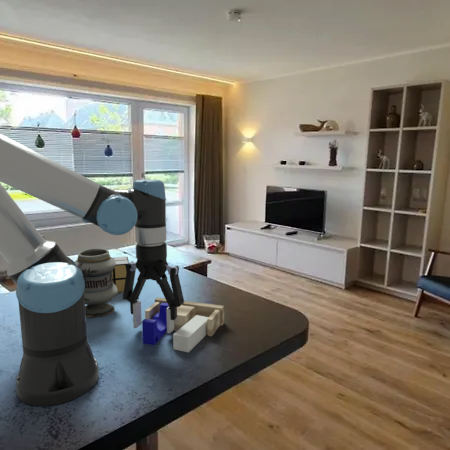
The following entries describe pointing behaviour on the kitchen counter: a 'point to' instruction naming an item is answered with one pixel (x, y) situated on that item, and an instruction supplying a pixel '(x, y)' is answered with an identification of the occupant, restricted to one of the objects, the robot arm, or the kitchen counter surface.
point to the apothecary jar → (97, 281)
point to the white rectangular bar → (190, 334)
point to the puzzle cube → (120, 273)
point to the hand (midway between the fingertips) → (154, 328)
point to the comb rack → (191, 314)
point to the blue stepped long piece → (155, 326)
